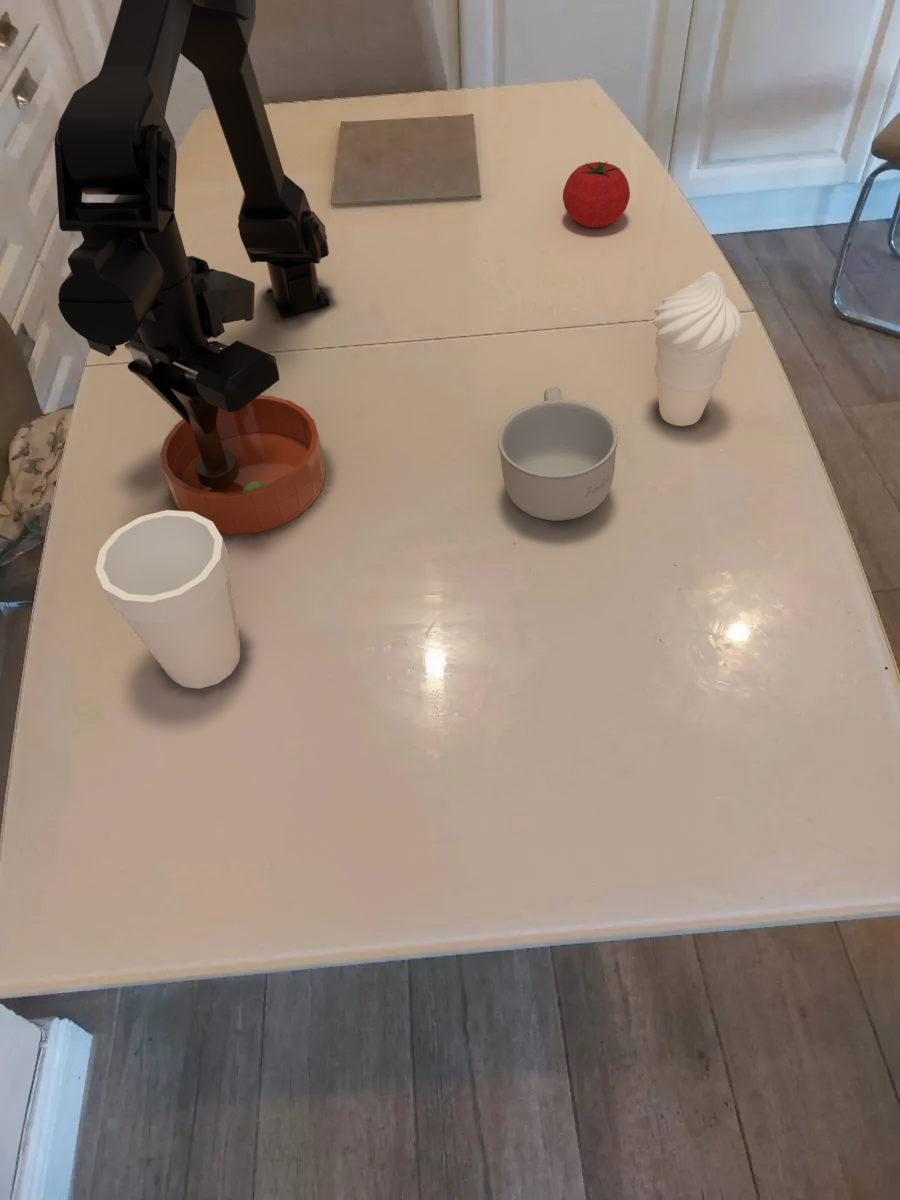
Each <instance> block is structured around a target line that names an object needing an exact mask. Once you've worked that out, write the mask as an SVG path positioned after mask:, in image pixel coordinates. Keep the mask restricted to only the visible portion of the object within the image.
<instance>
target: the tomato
mask: <svg viewBox="0 0 900 1200" xmlns="http://www.w3.org/2000/svg"><path fill="white" fill-rule="evenodd" d="M608 162H609V161H606V162H603V161H594V162H588V163H587V162H585V164H581V165H579V166H578V167H576V169H574V170H573V171H572V172H571V173H570V175H569V177H568V178H567V180H566V182H565V185H564V187H563V190H562V191H563V192H562V201H563V205H564V209H565V212H566V213H567V214H568V215H569V217H570V219H572V220H573V221H574V222H576V223H578V224H579V225H582V226H583V227H586V228H602V227H606V226H608V225H610V224H612V223H614V222H615V221H617V220H618V219H620V217H621V216H622V215H623V213H624V212H625V211H626V209H627V207H628V205H629V202H630V198H631V191H630V185H629V181H628V180H627V179H628V178H627V177H626V175H625V173H624V172H623V171H622V170H621V169H622V168H621V167H618V166H616V165H614V164H611V163H608Z"/></svg>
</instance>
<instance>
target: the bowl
mask: <svg viewBox="0 0 900 1200" xmlns="http://www.w3.org/2000/svg"><path fill="white" fill-rule="evenodd" d="M216 429H217V432H218V435H219V439H220V442H221V445H222V448H223V450H224V451H228V452H230V453H232V454H233V455H234V456H235V458H236V462H237V465H238V468H239V474H238V477H237V478H236V479H235V481H233V482H232V483H231V484H229V485H227V486H224V487H220V488H210V487H206V486H204V485H203V484H201V482H200V481H199V478H198V475H197V472H196V469H195V464H196V462H197V460H198V459H199V458H200V457H201V454H200V451H199V448H198V445H197V442H196V439H195V436H194V433H193V430H192V427H191V425H189V424H188V423H187V422H186V421H185V420H184V419H183V418H182V419H181V420H180V421H178V422H177V423H176V424H174V426H173V427H172V429H171V430H170V432H169V433H168V434H167V436H166V437H165V438H164V441H163V443H162V447H161V450H160V453H159V455H160V464H161V469H162V471H163V473H164V475H165V480H166V482H167V485H168V487H169V489H170V492H171V494H172V497H173V500H174V502H175V504H176V506H177V508H178V509H179V510H178V511H188V512H194V513H196V514H198V515H200V516H202V517H204V518H206V519H208V520H210V521H212V522H213V523H214V525H215V527H216V528H217V530H218V532H219V533H220V535H231V536H233V535H236V536H237V535H250V534H251V535H252V534H256V533H262V532H265V531H269V530H272V529H275V528H277V527H280V526H283V525H285V524H287V523H288V522H291V521H292V520H294V519H296V518H297V517H299V516H300V515H301V514H303V513H304V512H305V511H306V510H307V509H309V508H310V507H311V505H312V504H314V502H315V501H316V499H317V498H318V497H319V495H320V493H321V491H322V489H323V486H324V483H325V478H326V464H325V461H324V456H323V452H322V451H323V450H322V446H321V439H320V436H319V431H318V428H317V425H316V422H315V419H314V418H313V417H312V416H311V415H310V414H309V412H307V411H306V409H304V408H303V407H301V406H300V405H298V404H296V403H294V402H293V401H291V400H288V399H284V398H281V397H276V396H273V395H263V394H260V395H259V396H257V397H256V398H255V399H254V400H252V401H251V402H250V403H248V404H247V405H246V406H244V407H243V408H242V409H240V410H239V411H235V412H227V411H225V410H222V409H220V408H218V413H217V421H216ZM255 481H260V482H264V483H266V484H267V485H264V486H261V487H258V488H255V489H252V490H247V491H243V490H244V488H245V487H246V486H247V485H248V484H249V483H251V482H255Z"/></svg>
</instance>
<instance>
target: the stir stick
mask: <svg viewBox="0 0 900 1200" xmlns="http://www.w3.org/2000/svg"><path fill="white" fill-rule="evenodd" d="M185 409H186V408H185ZM186 412H187V415H188V418H189V421H190V424H191V427H192V430H193V433H194V436H195V439H196V442H197V445H198V448H199V451H200V454H201V457H200V458H199V459H198V460H197V462H196V464H195V469H196V472H197V475H198V478H199V481H200V482H201V484H203V485H204V486H206V487H210V488H220V487H224V486H227V485H229V484H231V483H232V482H233V481H235V479H236V478H237V477H238V474H239V468H238V465H237V462H236V458H235V456H234V455H233V454H232V453H230V452H228V451H224V450H223V448H222V445H221V442H220V439H219V435H218V432H217V429H216V428H215V429H214V430H213V431H211V432H210V433H209V434H207V433H205V432H204V431H203V430H202V429H201V427H200V426H199V425H198V424H197V423H196V421H195V420H194V419H193V417H192V416H191V415H190V413H189V412H188V411H187V409H186Z"/></svg>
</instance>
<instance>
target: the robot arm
mask: <svg viewBox="0 0 900 1200" xmlns="http://www.w3.org/2000/svg"><path fill="white" fill-rule="evenodd" d="M256 4H257V3H256V0H121V2H120V6H119V9H118V11H117V15H116V18H115V21H114V25H113V29H112V31H111V35H110V39H109V42H108V46H107V48H106V52H105V55H104V58H103V62H102V64H101V69H100V70H99V73H98V75H97V76H95V77H94V78H93V79H91V80H90V81H89V82H87V83H85V84H84V85H82V86H81V87H80V88H78V89H77V90H75V91H74V92H73V93H72V96H71V98H70V100H69V101H68V104H67V105H66V107H65V109H64V111H63V113H62V114H61V116H60V119H59V121H58V126H57V129H56V131H55V135H54V161H55V176H56V178H55V179H56V191H57V192H56V193H57V195H56V196H57V211H58V226H59V229H60V231H61V232H79V233H81V235H82V239H83V241H82V242H81V243H80V245H79V246H77V247H76V248H74V249H73V251H72V252H71V253H70V254H69V255H68V257H67V264H68V266H69V270H70V271H69V273H68V275H67V276H66V278H65V279H64V281H63V282H62V284H61V285H60V286H59V289H58V295H57V296H58V304H57V305H58V309H59V312H60V314H61V315H62V317H63V319H64V321H65V322H66V323H67V325H68V326H69V327H70V328H71V329H72V330H73V331H74V332H76V333H77V334H78V335H79V336H81V337H83V338H84V339H85V340H86V342H87V344H88V346H89V349H91V350H92V351H95V352H98V353H100V354H101V355H103V356H106V357H108V358H109V357H111V356H112V355H114V354H115V352H116V351H117V346H121V345H124V349H125V350H127V351H129V352H130V354H131V357H132V361H130V362H129V363H127V369H128V371H129V372H130V373H132V374H134V375H135V376H137V377H138V378H139V379H140V380H141V381H142V382H143V383H144V384H145V385H146V386H147V387H149V388H150V389H151V390H152V391H153V392H154V393H155V394H156V395H157V396H158V397H160V398H161V400H163V401H164V402H165V403H166V404H167V405H168V406H169V407H170V408H171V409H173V411H174V412H175V413H176V414H177V415H179V417H181V418H182V419H184V420H185V421H186V422H187V423H188V424H189V425H191V424H190V421H189V418H188V415H187V412H186V409H187V411H188V412H189V413H190V415H191V416H192V417H193V419H194V420H195V421H196V423H197V424H198V425H199V426H200V427H201V429H202V430H203V431H204V432H205V433H207V434H209V433H210V432H211V431H213V430H214V429H215V428H216V421H217V413H218V408H220V409H222V410H225V411H227V412H235V411H239V410H240V409H242V408H243V407H244V406H246V405H247V404H248V403H250V402H251V401H252V400H254V399H255V398H256V397H257V396H259V395H262V394H263V393H264V392H266V391H267V390H268V389H269V388H270V387H272V386H273V385H274V384H275V385H276V383H277V382H279V381H280V372H279V368H278V363H277V359H276V356H275V355H273V354H271V353H268V352H266V351H263V350H261V349H259V348H256V347H254V346H251V345H249V344H247V343H244V342H242V341H239V340H236V341H234V342H232V343H231V344H229V345H227V344H224V343H222V342H220V341H217V340H210V341H209V339H211V338H213V339H217V338H218V337H220V336H221V335H223V334H224V333H226V330H225V326H224V324H229V323H234V322H239V321H243V320H244V321H245V322H250V321H253V320H254V319H255V318H254V317H255V292H256V291H255V289H256V283H255V282H254V281H252V280H249V279H246V278H244V277H241V276H238V275H235V274H233V273H230V272H228V271H222V270H217V269H216V268H210V266H209V263H208V262H207V260H205V259H202V258H200V257H197V256H194V255H187V253H186V249H185V245H184V241H183V239H182V235H181V232H180V228H179V224H178V221H177V217H176V214H175V208H176V191H177V186H176V185H177V163H178V161H177V159H178V152H177V148H176V140H175V137H174V135H173V133H172V131H171V129H170V126H169V124H168V122H167V120H166V112H167V106H168V102H169V98H170V94H171V90H172V86H173V82H174V79H175V75H176V71H177V67H178V64H179V59H180V55H181V56H182V57H184V58H185V59H186V60H187V61H188V62H189V63H191V64H192V65H193V67H195V68H196V69H198V70H199V71H200V73H201V74H202V76H203V80H204V82H205V85H206V88H207V91H208V93H209V96H210V99H211V102H212V105H213V108H214V110H215V113H216V117H217V119H218V122H219V125H220V128H221V130H222V134H223V137H224V139H225V142H226V145H227V147H228V151H229V153H230V156H231V160H232V162H233V165H234V168H235V170H236V174H237V176H238V179H239V182H240V185H241V188H242V190H243V197H242V201H241V206H240V209H239V213H238V218H237V220H238V222H237V228H238V232H239V233H238V234H239V238H240V239H241V242H242V245H243V247H244V249H245V253H246V255H247V257H248V259H249V261H250V263H251V264H255V263H266V265H267V270H268V276H269V280H270V284H271V288H268V289H266V290H265V294H266V297H267V298H268V300H269V301H270V303H271V305H272V307H273V308H274V310H275V312H276V313H277V315H278V316H279V317H280V318H281V319H285V318H288V317H292V316H296V315H299V314H302V313H306V312H310V311H314V310H316V309H317V310H318V309H319V308H323V307H327V306H329V305H330V304H331V302H330V298H329V297H328V296H327V294H326V293H325V292H324V290H323V288H322V287H321V286H320V284H319V279H318V272H317V266H316V264H320V263H321V260H322V259H324V258H326V257H328V256H329V254H330V251H329V245H328V244H329V243H328V236H327V232H326V225H325V224H324V223H323V222H322V220H321V219H320V218H319V217H318V215H317V214H316V213H315V211H312V209H311V206H310V204H309V201H308V198H307V196H306V192H305V191H304V189H303V188H301V187H300V186H299V185H298V184H297V183H296V182H295V181H293V180H292V179H291V178H289V177H288V176H287V175H286V174H285V171H284V169H283V168H284V167H283V165H282V162H281V159H280V155H279V151H278V149H277V145H276V142H275V137H274V135H273V131H272V127H271V125H270V121H269V117H268V115H267V111H266V108H265V104H264V101H263V98H262V94H261V90H260V87H259V84H258V80H257V78H256V77H257V76H256V74H255V70H254V66H253V64H252V60H251V56H250V53H249V49H248V48H249V45H250V42H251V37H252V34H253V30H254V26H255V22H256V19H257V15H256V8H257V6H256ZM83 194H84V195H86V196H87V195H89V196H92V195H93V196H94V195H95V196H110V195H111V196H116V198H115V199H114V200H113V201H112V202H99V201H98V202H96V201H95V202H93V201H92V202H85V201H84V202H83V201H82V200H83ZM185 408H186V409H185Z"/></svg>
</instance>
